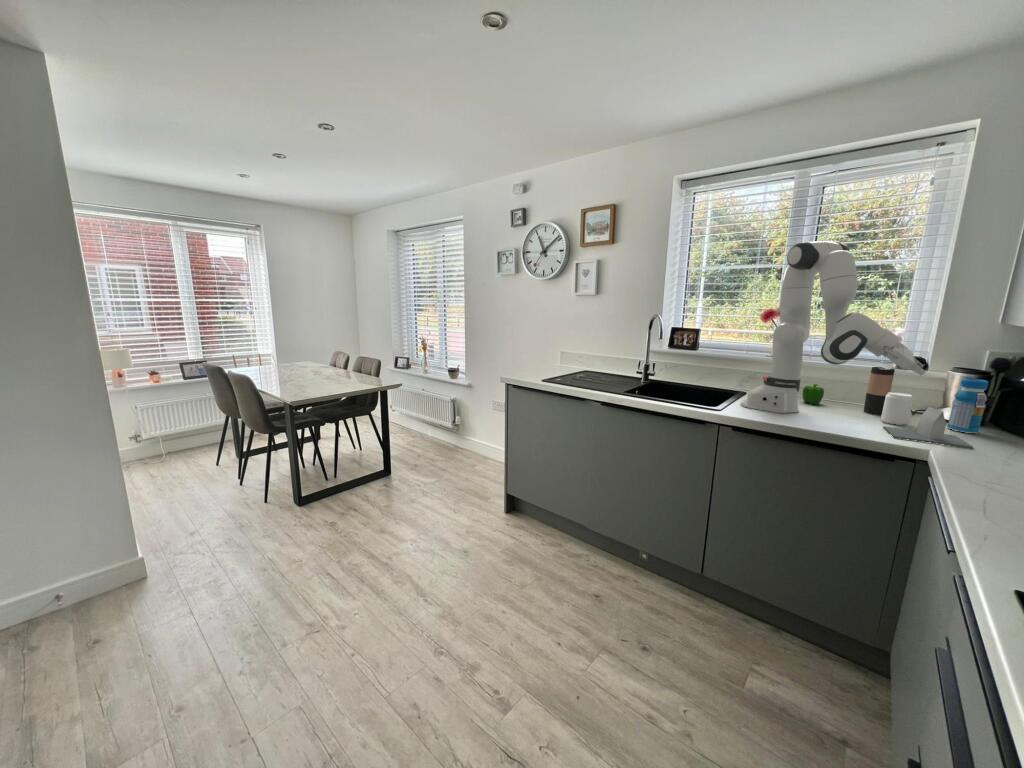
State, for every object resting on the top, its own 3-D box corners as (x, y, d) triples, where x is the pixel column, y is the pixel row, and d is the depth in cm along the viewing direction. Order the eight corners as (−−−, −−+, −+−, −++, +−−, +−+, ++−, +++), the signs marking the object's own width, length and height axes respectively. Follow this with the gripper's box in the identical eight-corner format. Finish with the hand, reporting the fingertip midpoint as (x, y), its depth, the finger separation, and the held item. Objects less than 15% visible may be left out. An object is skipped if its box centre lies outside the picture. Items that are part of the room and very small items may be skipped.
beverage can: (913, 426, 160) (919, 397, 157) (889, 425, 161) (895, 395, 159) (898, 421, 168) (904, 392, 165) (875, 419, 169) (881, 391, 167)
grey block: (929, 438, 143) (936, 411, 141) (916, 432, 149) (922, 406, 147) (942, 439, 142) (949, 412, 140) (928, 433, 148) (934, 407, 146)
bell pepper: (801, 400, 201) (804, 380, 199) (822, 403, 196) (826, 382, 194) (800, 403, 195) (803, 382, 193) (821, 406, 190) (825, 385, 188)
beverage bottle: (947, 431, 155) (960, 379, 151) (944, 426, 162) (957, 376, 157) (980, 436, 150) (994, 382, 146) (976, 430, 156) (989, 379, 152)
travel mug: (866, 414, 178) (876, 368, 173) (859, 409, 184) (868, 366, 180) (888, 416, 175) (898, 370, 171) (880, 411, 182) (890, 367, 178)
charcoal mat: (893, 438, 145) (894, 436, 145) (882, 428, 157) (883, 426, 157) (973, 449, 136) (973, 446, 135) (954, 437, 148) (955, 435, 147)
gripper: (893, 343, 138) (934, 370, 133) (892, 333, 153) (929, 358, 148) (876, 356, 142) (915, 383, 137) (876, 346, 156) (912, 370, 151)
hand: (922, 370), depth 142 cm, fingers open, 8 cm apart
